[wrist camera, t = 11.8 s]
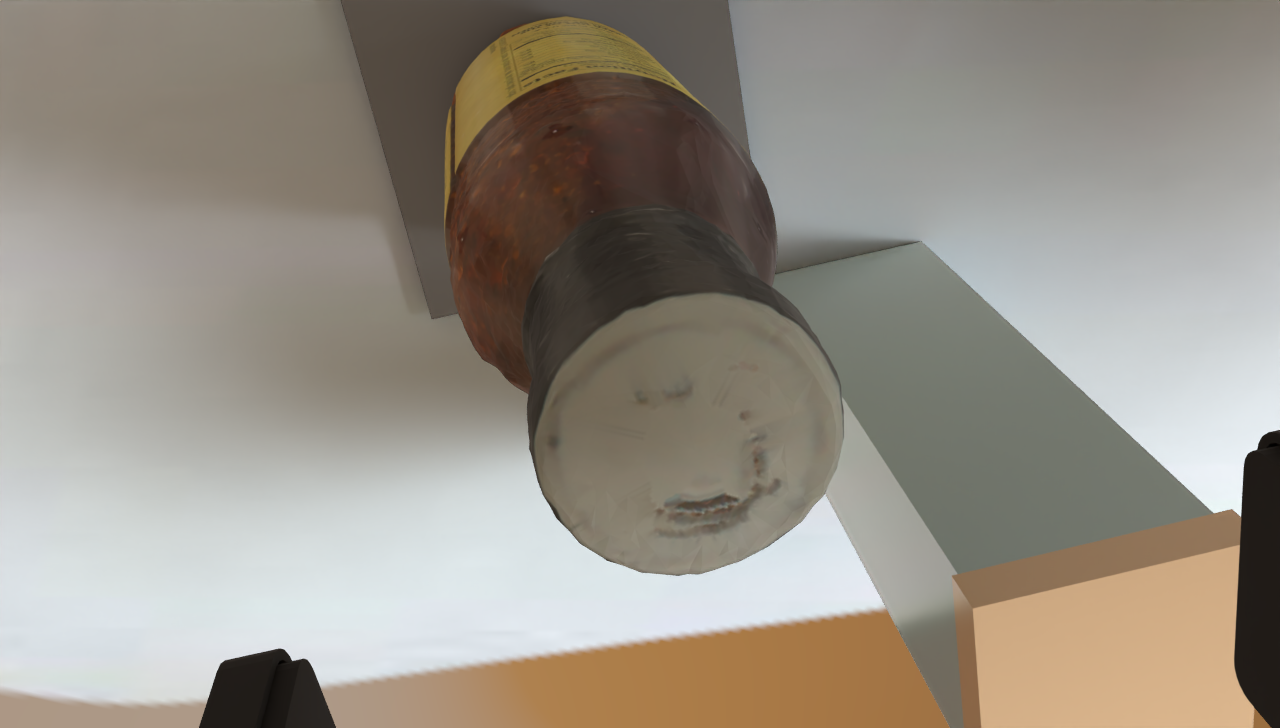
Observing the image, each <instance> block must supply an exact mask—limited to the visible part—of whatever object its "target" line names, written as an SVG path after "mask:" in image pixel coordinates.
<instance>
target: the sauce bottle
mask: <svg viewBox="0 0 1280 728" xmlns="http://www.w3.org/2000/svg"><path fill="white" fill-rule="evenodd" d="M444 227H445V247H446V252H447V258H448V263H449V267H450V271H451V276H450V281H451V285H452V290H453V295H454V301H455V304H456V307H457V310H458V313H459V316H460V318H461V320H462V322H463V325H464V328H465V330H466V332H467V334H468V336H469V338H470V340H471V342H472V344H473V346H474V348H475V350H476V351H477V352H478V354H479V355H480V356H481V358H482V359H483V360H484V361H486V362H488V363H490V364H492V365H493V366H495V367H497V368H498V369H499V370H500V371H501V373H502V374H503V375H504V377H505V378H506V379H507V380H508V381H509V382H510V383H511V384H513V385H514V386H516V387H517V388H519V389H520V390H522V391H524V392H526V393H527V394H528V395H529V396H528V403H527V420H528V433H529V441H530V443H529V450H530V452H531V455H532V459H533V463H534V467H535V471H536V476H537V480H538V483H539V486H540V488H541V491H542V493H543V496H544V497H545V499H546V500H547V502H548V504H549V505H550V507H551V509H552V511H553V513H554V514H555V516H556V518H557V519H558V520H559V521H560V522H561V523H562V524H563V525H564V526H565V527H566V528H567V529H568V530H569V531H570V532H571V533H572V535H573V536H574V537H575V538H576V539H577V541H578V542H579V543H580V544H582V545H583V546H585V547H587V548H588V549H590V550H591V551H593V552H595V553H596V554H598V555H600V556H601V557H603V558H604V559H606V560H607V561H610V562H613V563H617V564H620V565H623V566H626V567H628V568H631V569H634V570H636V571H639V572H641V573H654V574H665V575H676V576H680V575H684V574H702V573H705V572H709V571H712V570H716V569H718V568H721V567H724V566H727V565H730V564H733V563H736V562H739V561H741V560H743V559H745V558H747V557H749V556H751V555H753V554H755V553H757V552H759V551H761V550H762V549H764V548H766V547H768V546H769V545H771V544H772V543H774V542H775V541H776V540H778V539H779V538H780V537H782V536H783V535H785V534H786V533H787V532H789V531H790V530H791V529H793V528H794V527H795V526H797V525H798V524H799V523H801V522H802V521H803V519H804V518H805V517H806V515H807V514H808V513H809V511H810V510H811V508H812V507H813V506H814V505H815V504H816V503H817V502H818V501H819V500H820V499H821V498H822V497H823V495H824V494H825V492H826V490H827V488H828V485H829V483H830V481H831V479H832V477H833V475H834V473H835V471H836V469H837V465H838V461H839V457H840V453H841V448H842V444H843V440H844V409H843V404H842V391H841V383H840V380H839V377H838V374H837V371H836V370H835V368H834V366H833V364H832V362H831V360H830V358H829V356H828V355H827V353H826V352H825V350H824V349H823V347H822V346H821V344H820V341H819V339H818V337H817V336H816V335H815V334H814V332H813V331H812V330H811V328H810V326H809V324H808V323H807V321H806V320H805V319H804V317H803V316H802V314H801V313H800V311H799V310H798V309H797V307H795V306H794V305H793V304H792V303H791V302H790V301H789V300H788V299H787V298H785V297H784V296H783V295H782V294H781V293H779V292H778V291H777V290H776V289H774V288H773V287H772V285H773V282H774V277H775V271H776V263H777V233H776V225H775V217H774V213H773V208H772V205H771V202H770V199H769V196H768V193H767V189H766V187H765V185H764V183H763V181H762V179H761V177H760V175H759V173H758V171H757V169H756V167H755V166H754V164H753V162H752V160H751V158H750V156H749V155H748V153H747V152H746V150H745V149H744V148H743V147H742V145H741V144H740V143H739V142H738V140H737V139H736V138H735V136H734V135H733V134H732V133H731V132H730V131H729V130H728V129H727V128H726V127H725V126H724V125H723V124H722V123H721V122H720V121H719V120H718V119H717V118H716V117H715V116H714V115H713V114H712V113H711V112H710V111H709V110H708V109H707V108H706V107H705V106H703V105H702V104H701V103H700V102H699V101H698V100H697V99H696V98H695V97H693V96H692V95H691V94H690V93H689V92H688V91H687V90H686V89H685V88H684V87H683V86H682V84H681V83H680V82H679V81H678V80H677V79H675V78H674V77H673V76H672V75H671V74H670V73H669V72H668V71H667V70H666V69H665V68H664V67H663V66H662V65H661V64H660V63H659V62H658V61H657V60H656V59H655V58H654V57H653V56H652V55H651V54H650V53H649V52H648V51H646V50H645V49H644V48H643V47H642V46H640V45H639V44H638V43H637V42H635V41H634V40H632V39H631V38H629V37H628V36H626V35H625V34H623V33H621V32H619V31H617V30H615V29H613V28H611V27H609V26H606V25H604V24H601V23H598V22H595V21H591V20H586V19H580V18H574V17H567V16H565V17H558V18H551V19H545V20H540V21H536V22H533V23H528V24H522V25H519V26H516V27H513V28H510V29H508V30H505V31H504V32H503V33H502V34H501V35H500V37H499V38H498V39H497V40H496V41H494V42H493V43H492V44H490V45H489V46H488V47H487V48H486V49H485V50H483V51H482V52H481V53H480V54H479V56H478V57H477V58H476V59H475V60H474V61H473V62H472V63H471V65H470V66H469V67H468V69H467V70H466V72H465V73H464V75H463V76H462V78H461V80H460V82H459V84H458V85H457V87H456V92H455V93H454V97H453V102H452V106H451V107H450V109H449V113H448V119H447V125H446V137H445V210H444Z"/></svg>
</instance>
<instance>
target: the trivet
mask: <svg viewBox="0 0 1280 728" xmlns="http://www.w3.org/2000/svg"><path fill="white" fill-rule="evenodd" d="M341 3H342V6H343V10H344V13H345V17H346V20H347V24H348V27H349V31H350V34H351V38H352V41H353V45H354V48H355V52H356V55H357V59H358V62H359V66H360V69H361V73H362V76H363V80H364V83H365V87H366V90H367V94H368V97H369V101H370V104H371V108H372V111H373V115H374V118H375V122H376V125H377V129H378V132H379V136H380V139H381V143H382V146H383V150H384V153H385V157H386V160H387V164H388V167H389V171H390V174H391V178H392V181H393V185H394V188H395V192H396V195H397V199H398V202H399V206H400V209H401V213H402V216H403V220H404V223H405V227H406V230H407V234H408V237H409V241H410V244H411V248H412V251H413V255H414V258H415V262H416V265H417V269H418V272H419V276H420V279H421V283H422V286H423V290H424V293H425V297H426V300H427V304H428V307H429V311H430V314H431V318H432V319H435V318H439V317H444V316H448V315H453V314H457V313H458V310H457V307H456V304H455V301H454V295H453V290H452V285H451V281H450V276H451V271H450V267H449V263H448V258H447V252H446V247H445V227H444V210H445V137H446V125H447V119H448V113H449V109H450V107H451V106H452V102H453V97H454V93H455V92H456V87H457V85H458V84H459V82H460V80H461V78H462V76H463V75H464V73H465V72H466V70H467V69H468V67H469V66H470V65H471V63H472V62H473V61H474V60H475V59H476V58H477V57H478V56H479V54H480V53H481V52H482V51H483V50H485V49H486V48H487V47H488V46H489V45H490V44H492V43H493V42H494V41H496V40H497V39H498V38H499V37H500V35H501V34H502V33H503V32H504V31H505V30H508V29H510V28H513V27H516V26H519V25H522V24H528V23H533V22H536V21H540V20H545V19H551V18H558V17H565V16H567V17H574V18H580V19H586V20H591V21H595V22H598V23H601V24H604V25H606V26H609V27H611V28H613V29H615V30H617V31H619V32H621V33H623V34H625V35H626V36H628V37H629V38H631V39H632V40H634V41H635V42H637V43H638V44H639V45H640V46H642V47H643V48H644V49H645V50H646V51H648V52H649V53H650V54H651V55H652V56H653V57H654V58H655V59H656V60H657V61H658V62H659V63H660V64H661V65H662V66H663V67H664V68H665V69H666V70H667V71H668V72H669V73H670V74H671V75H672V76H673V77H674V78H675V79H677V80H678V81H679V82H680V83H681V84H682V86H683V87H684V88H685V89H686V90H687V91H688V92H689V93H690V94H691V95H692V96H693V97H695V98H696V99H697V100H698V101H699V102H700V103H701V104H702V105H703V106H705V107H706V108H707V109H708V110H709V111H710V112H711V113H712V114H713V115H714V116H715V117H716V118H717V119H718V120H719V121H720V122H721V123H722V124H723V125H724V126H725V127H726V128H727V129H728V130H729V131H730V132H731V133H732V134H733V135H734V136H735V138H736V139H737V140H738V142H739V143H740V144H741V145H742V147H743V148H744V149H745V150H746V152H747V153H748V155H749V156H750V151H749V144H748V137H747V130H746V123H745V117H744V110H743V103H742V96H741V89H740V82H739V75H738V68H737V61H736V54H735V48H734V41H733V34H732V27H731V20H730V13H729V6H728V0H341Z"/></svg>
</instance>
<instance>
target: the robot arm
mask: <svg viewBox="0 0 1280 728" xmlns="http://www.w3.org/2000/svg"><path fill="white" fill-rule="evenodd" d="M1234 668H1235V672H1236V677H1237V679H1238V682H1239V685H1240V687H1241V689H1242V691H1243V693H1244V695H1245V696H1246V698H1247V699H1248V700H1249V702H1250V703H1251V704H1252V705H1253V706H1254V708H1255V709H1256V710H1257V711H1258V712H1259V713H1260V715H1261V716H1262V717H1263V718H1264V719H1265V721H1266V722H1267V723H1268V724H1269V725H1270V727H1272V728H1280V430H1277V431H1273V432H1269V433H1267V434H1265V435H1264V436H1262V438H1261V440H1260V442H1259V444H1258V450H1255V451H1252V452H1250V453H1248V455H1247V457H1246V458H1245V463H1244V473H1243V493H1242V513H1241V532H1240V552H1239V571H1238V591H1237V610H1236V630H1235V650H1234ZM199 728H336V726H335V724H334V721H333V719H332V716H331V714H330V711H329V709H328V706H327V703H326V701H325V698H324V696H323V693H322V691H321V688H320V685H319V683H318V680H317V678H316V675H315V673H314V670H313V668H312V666H311V664H310V663H309V661H308V660H306V659H300V660H296V661H292V660H291V658H290V656H289V655H288V653H287V652H286V651H285V650H283V649H275V650H271V651H266V652H262V653H257V654H252V655H248V656H243V657H239V658H234V659H230V660H225V661H224V662H222V663H221V664H220V666H219V668H218V670H217V673H216V676H215V680H214V683H213V686H212V689H211V692H210V695H209V698H208V701H207V704H206V708H205V711H204V714H203V717H202V720H201V723H200V726H199Z"/></svg>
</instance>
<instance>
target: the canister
mask: <svg viewBox="0 0 1280 728" xmlns="http://www.w3.org/2000/svg"><path fill="white" fill-rule="evenodd" d="M772 287H773V288H774V289H776V290H777V291H778V292H779V293H781V294H782V295H783V296H784V297H785V298H787V299H788V300H789V301H790V302H791V303H792V304H793V305H794V306H795V307H797V309H798V310H799V311H800V313H801V314H802V316H803V317H804V319H805V320H806V321H807V323H808V324H809V326H810V328H811V330H812V331H813V332H814V334H815V335H816V336H817V337H818V339H819V341H820V344H821V346H822V347H823V349H824V350H825V352H826V353H827V355H828V356H829V358H830V360H831V362H832V364H833V366H834V368H835V370H836V371H837V374H838V377H839V380H840V383H841V391H842V404H843V409H844V440H843V444H842V448H841V453H840V457H839V461H838V465H837V469H836V471H835V473H834V475H833V477H832V479H831V481H830V483H829V485H828V488H827V490H826V492H825V494H826V496H827V498H828V500H829V502H830V503H831V505H832V507H833V509H834V511H835V513H836V515H837V517H838V518H839V520H840V522H841V524H842V526H843V528H844V530H845V532H846V533H847V535H848V537H849V539H850V541H851V543H852V545H853V547H854V548H855V550H856V552H857V554H858V556H859V558H860V560H861V562H862V563H863V565H864V567H865V569H866V571H867V573H868V575H869V577H870V578H871V580H872V582H873V584H874V586H875V588H876V590H877V592H878V593H879V595H880V597H881V599H882V601H883V603H884V605H885V607H886V608H887V610H888V612H889V614H890V616H891V618H892V620H893V622H894V623H895V625H896V627H897V629H898V631H899V633H900V635H901V637H902V638H903V640H904V642H905V644H906V646H907V648H908V650H909V651H910V653H911V655H912V657H913V659H914V661H915V663H916V665H917V667H918V668H919V670H920V672H921V674H922V676H923V678H924V680H925V681H926V683H927V685H928V687H929V689H930V691H931V693H932V695H933V696H934V698H935V700H936V702H937V704H938V706H939V708H940V710H941V712H942V713H943V715H944V717H945V719H946V721H947V723H948V725H949V727H950V728H1253V720H1254V706H1253V705H1252V704H1251V703H1250V702H1249V700H1248V699H1247V698H1246V696H1245V695H1244V693H1243V691H1242V689H1241V687H1240V685H1239V682H1238V679H1237V677H1236V672H1235V668H1234V650H1235V630H1236V610H1237V591H1238V571H1239V552H1240V532H1241V517H1240V516H1239V515H1238V514H1237V513H1236V512H1234V511H1233V510H1232V509H1231V510H1227V511H1222V512H1218V513H1213V512H1212V511H1211V510H1209V509H1208V508H1207V507H1206V506H1205V505H1204V504H1203V503H1202V502H1201V501H1200V500H1199V499H1198V498H1197V497H1195V496H1194V495H1193V494H1192V493H1191V492H1190V491H1189V490H1188V489H1187V488H1186V487H1185V486H1184V485H1183V484H1182V483H1180V482H1179V481H1178V480H1177V479H1176V478H1175V477H1174V476H1173V475H1172V474H1171V473H1170V472H1169V471H1168V470H1166V469H1165V468H1164V467H1163V466H1162V465H1161V464H1160V463H1159V462H1158V461H1157V460H1156V459H1155V458H1154V457H1153V456H1151V455H1150V454H1149V453H1148V452H1147V451H1146V450H1145V449H1144V448H1143V447H1142V446H1141V445H1140V444H1139V443H1138V442H1136V441H1135V440H1134V439H1133V438H1132V437H1131V436H1130V435H1129V434H1128V433H1127V432H1126V431H1125V430H1124V429H1122V428H1121V427H1120V426H1119V425H1118V424H1117V423H1116V422H1115V421H1114V420H1113V419H1112V418H1111V417H1110V416H1109V415H1107V414H1106V413H1105V412H1104V411H1103V410H1102V409H1101V408H1100V407H1099V406H1098V405H1097V404H1096V403H1095V402H1094V401H1092V400H1091V399H1090V398H1089V397H1088V396H1087V395H1086V394H1085V393H1084V392H1083V391H1082V390H1081V389H1080V388H1078V387H1077V386H1076V385H1075V384H1074V383H1073V382H1072V381H1071V380H1070V379H1069V378H1068V377H1067V376H1066V375H1065V374H1063V373H1062V372H1061V371H1060V370H1059V369H1058V368H1057V367H1056V366H1055V365H1054V364H1053V363H1052V362H1051V361H1050V360H1048V359H1047V358H1046V357H1045V356H1044V355H1043V354H1042V353H1041V352H1040V351H1039V350H1038V349H1037V348H1036V347H1034V346H1033V345H1032V344H1031V343H1030V342H1029V341H1028V340H1027V339H1026V338H1025V337H1024V336H1023V335H1022V334H1021V333H1019V332H1018V331H1017V330H1016V329H1015V328H1014V327H1013V326H1012V325H1011V324H1010V323H1009V322H1008V321H1007V320H1006V319H1004V318H1003V317H1002V316H1001V315H1000V314H999V313H998V312H997V311H996V310H995V309H994V308H993V307H992V306H990V305H989V304H988V303H987V302H986V301H985V300H984V299H983V298H982V297H981V296H980V295H979V294H978V293H977V292H975V291H974V290H973V289H972V288H971V287H970V286H969V285H968V284H967V283H966V282H965V281H964V280H963V279H962V278H960V277H959V276H958V275H957V274H956V273H955V272H954V271H953V270H952V269H951V268H950V267H949V266H948V265H946V264H945V263H944V262H943V261H942V260H941V259H940V258H939V257H938V256H937V255H936V254H935V253H934V252H933V251H931V250H930V249H929V248H928V247H927V246H926V245H925V244H924V243H923V242H922V241H921V242H917V243H912V244H908V245H903V246H899V247H894V248H890V249H885V250H881V251H876V252H872V253H867V254H863V255H859V256H854V257H850V258H845V259H841V260H836V261H832V262H827V263H823V264H818V265H814V266H809V267H805V268H800V269H796V270H792V271H787V272H783V273H778V274H775V277H774V282H773V285H772Z"/></svg>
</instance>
